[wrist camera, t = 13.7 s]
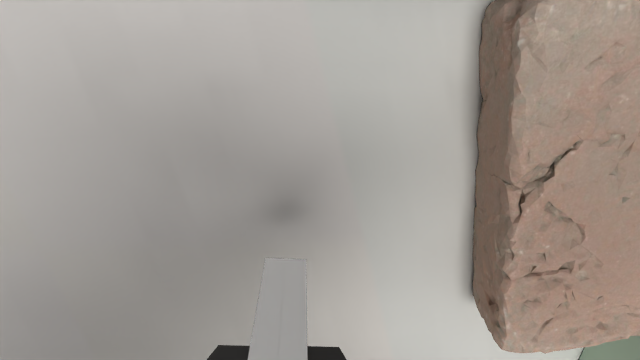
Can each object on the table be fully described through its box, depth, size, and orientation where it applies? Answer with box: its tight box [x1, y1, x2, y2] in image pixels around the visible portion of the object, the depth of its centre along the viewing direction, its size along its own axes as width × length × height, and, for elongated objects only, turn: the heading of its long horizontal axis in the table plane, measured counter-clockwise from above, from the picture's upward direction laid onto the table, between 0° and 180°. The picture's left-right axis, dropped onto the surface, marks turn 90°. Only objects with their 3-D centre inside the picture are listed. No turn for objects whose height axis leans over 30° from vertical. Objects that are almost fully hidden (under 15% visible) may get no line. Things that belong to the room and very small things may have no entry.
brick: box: [473, 0, 640, 353], centre depth 16 cm, size 17×8×5 cm, turn 7°
